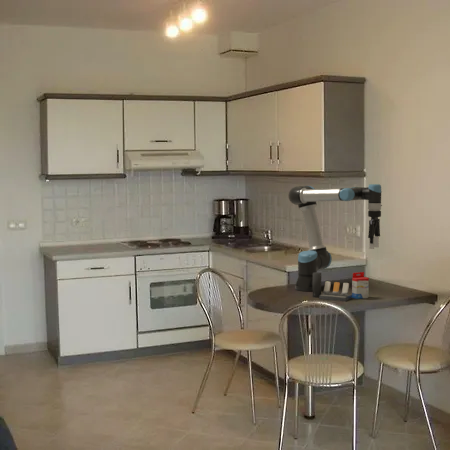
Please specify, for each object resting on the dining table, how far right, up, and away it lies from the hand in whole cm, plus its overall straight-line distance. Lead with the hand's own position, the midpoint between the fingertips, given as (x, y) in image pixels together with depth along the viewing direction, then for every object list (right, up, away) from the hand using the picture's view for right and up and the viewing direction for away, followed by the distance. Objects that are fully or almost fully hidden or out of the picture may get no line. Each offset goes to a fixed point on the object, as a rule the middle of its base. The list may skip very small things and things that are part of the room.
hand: (374, 248), depth 426 cm
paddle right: (-20, -26, -16) cm, 36 cm away
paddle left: (-30, -25, -11) cm, 41 cm away
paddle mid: (-25, -25, -14) cm, 38 cm away
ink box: (-10, -29, -12) cm, 33 cm away
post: (-35, -28, -8) cm, 46 cm away
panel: (-25, -29, -13) cm, 40 cm away
